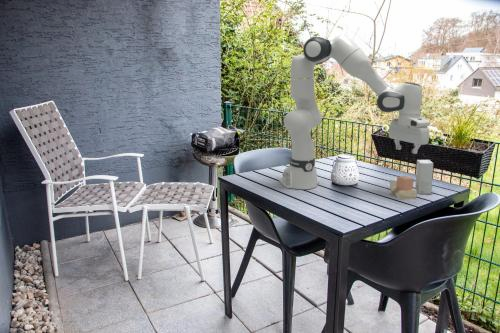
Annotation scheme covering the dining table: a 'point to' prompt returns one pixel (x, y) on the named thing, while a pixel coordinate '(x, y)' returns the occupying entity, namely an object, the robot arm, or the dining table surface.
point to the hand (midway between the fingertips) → (406, 151)
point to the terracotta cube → (404, 183)
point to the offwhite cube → (393, 182)
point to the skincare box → (424, 176)
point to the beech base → (403, 193)
